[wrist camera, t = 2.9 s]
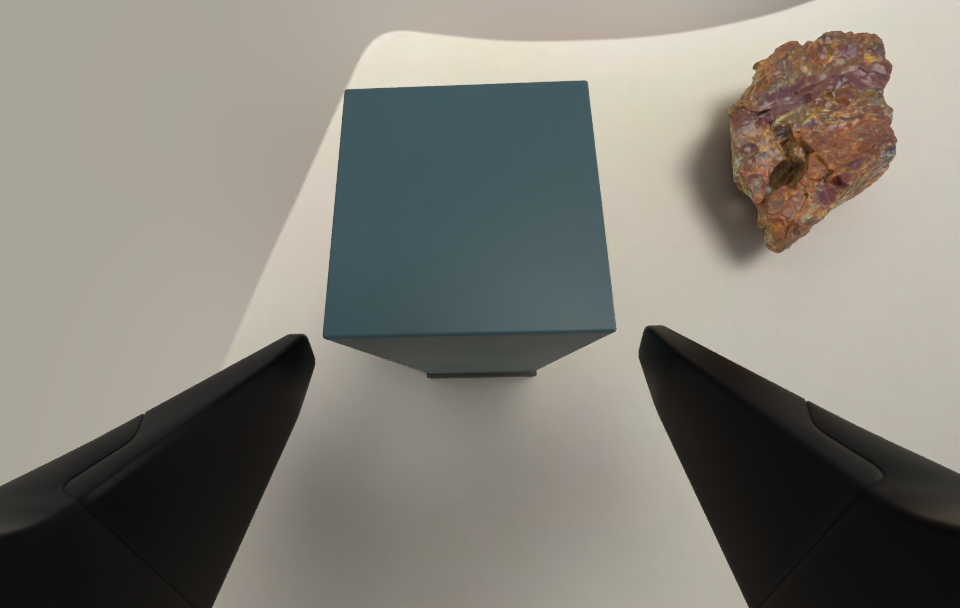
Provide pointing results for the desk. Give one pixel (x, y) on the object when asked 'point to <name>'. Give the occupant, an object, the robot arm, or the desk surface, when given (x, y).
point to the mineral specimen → (812, 131)
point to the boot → (468, 228)
